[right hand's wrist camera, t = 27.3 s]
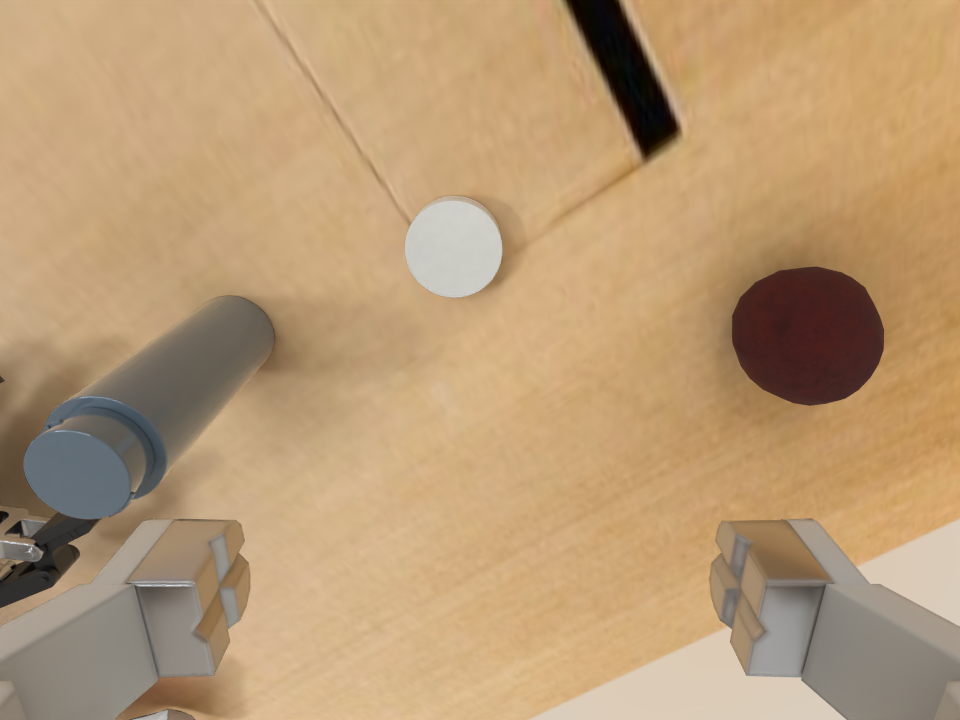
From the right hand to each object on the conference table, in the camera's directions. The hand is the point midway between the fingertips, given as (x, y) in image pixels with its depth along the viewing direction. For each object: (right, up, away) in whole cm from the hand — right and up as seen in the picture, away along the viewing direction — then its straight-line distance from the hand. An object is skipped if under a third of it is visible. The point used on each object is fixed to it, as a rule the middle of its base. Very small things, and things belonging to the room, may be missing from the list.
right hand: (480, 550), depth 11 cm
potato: (+18, +6, +27) cm, 33 cm away
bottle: (-15, +5, +27) cm, 31 cm away
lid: (-1, +9, +24) cm, 25 cm away
